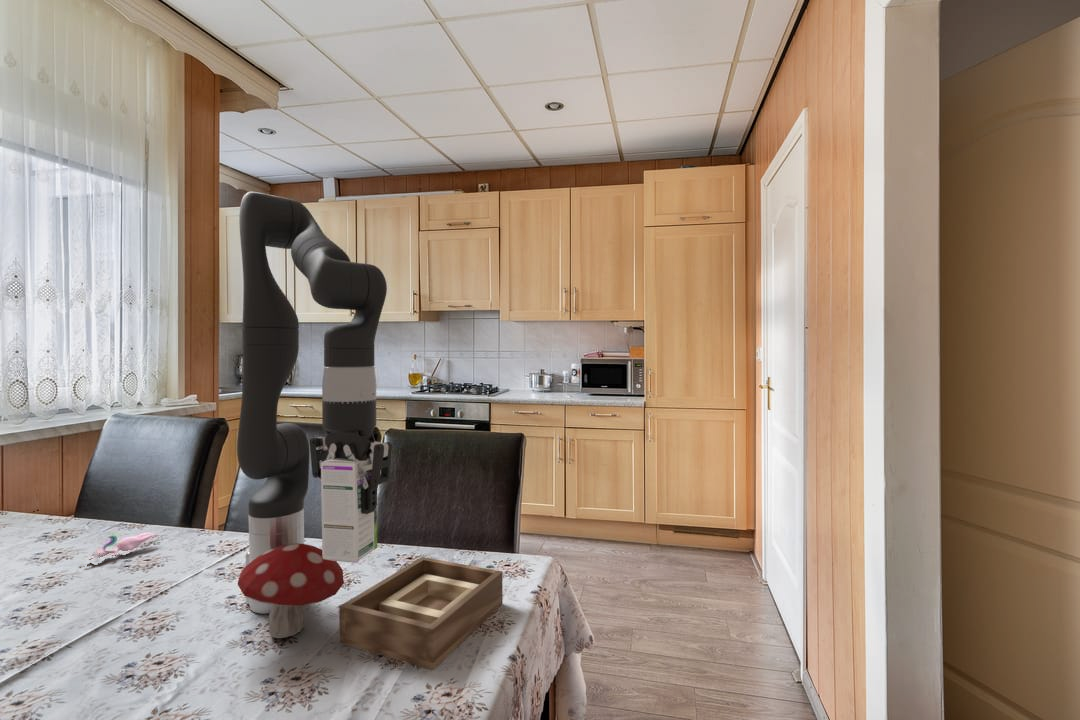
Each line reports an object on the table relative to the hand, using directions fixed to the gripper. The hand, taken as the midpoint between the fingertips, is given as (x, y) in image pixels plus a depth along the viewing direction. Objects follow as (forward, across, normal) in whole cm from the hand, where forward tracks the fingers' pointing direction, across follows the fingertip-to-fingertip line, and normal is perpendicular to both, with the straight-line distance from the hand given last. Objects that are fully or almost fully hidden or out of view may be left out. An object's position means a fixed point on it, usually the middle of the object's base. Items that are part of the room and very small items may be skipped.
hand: (350, 509), depth 78 cm
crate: (+23, -3, -15) cm, 28 cm away
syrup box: (+7, 0, 0) cm, 7 cm away
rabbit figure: (+24, +80, -11) cm, 84 cm away
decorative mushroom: (+24, +15, -3) cm, 28 cm away
